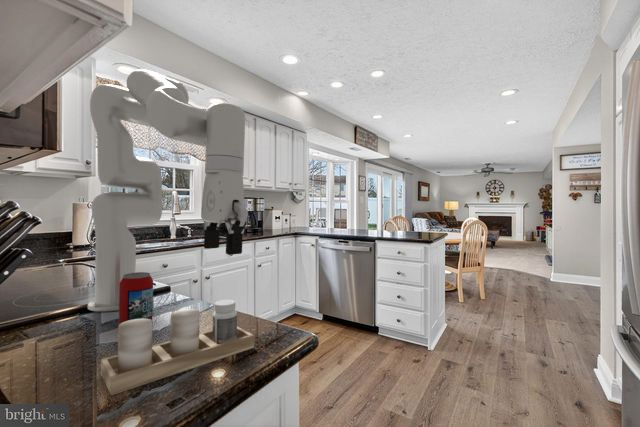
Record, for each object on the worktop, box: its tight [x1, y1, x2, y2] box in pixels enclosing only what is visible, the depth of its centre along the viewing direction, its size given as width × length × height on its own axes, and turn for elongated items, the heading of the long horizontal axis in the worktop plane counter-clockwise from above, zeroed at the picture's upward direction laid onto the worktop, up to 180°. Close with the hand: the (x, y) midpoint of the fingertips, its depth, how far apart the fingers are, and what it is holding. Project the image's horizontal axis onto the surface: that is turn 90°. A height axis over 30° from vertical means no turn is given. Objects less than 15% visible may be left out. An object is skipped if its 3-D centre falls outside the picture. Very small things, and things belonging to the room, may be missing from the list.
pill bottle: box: [212, 299, 238, 344], centre depth 62 cm, size 5×5×8 cm
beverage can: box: [118, 271, 154, 325], centre depth 72 cm, size 7×7×12 cm
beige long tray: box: [100, 308, 255, 396], centre depth 57 cm, size 8×24×8 cm, turn 134°
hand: (222, 250), depth 64 cm, fingers open, 9 cm apart
